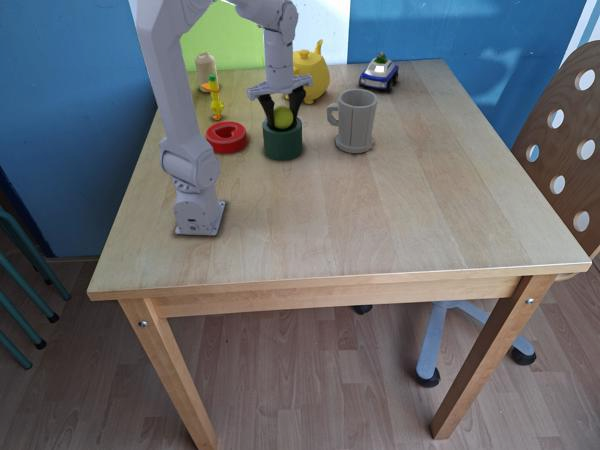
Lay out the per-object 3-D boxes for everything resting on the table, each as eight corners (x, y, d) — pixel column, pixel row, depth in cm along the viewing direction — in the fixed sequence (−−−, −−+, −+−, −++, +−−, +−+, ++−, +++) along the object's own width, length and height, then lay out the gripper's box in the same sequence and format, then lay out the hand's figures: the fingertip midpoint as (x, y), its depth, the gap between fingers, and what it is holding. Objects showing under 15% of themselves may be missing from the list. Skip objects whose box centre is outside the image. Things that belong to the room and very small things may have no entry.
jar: (301, 161, 97) (300, 134, 93) (262, 160, 98) (259, 133, 93) (303, 139, 104) (303, 114, 99) (266, 138, 104) (264, 113, 99)
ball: (297, 129, 96) (296, 109, 92) (276, 135, 94) (275, 115, 91) (287, 119, 99) (287, 99, 96) (268, 124, 97) (266, 104, 94)
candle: (196, 91, 123) (190, 57, 116) (205, 82, 127) (199, 49, 120) (214, 93, 122) (208, 59, 115) (222, 85, 125) (217, 51, 119)
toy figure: (202, 117, 112) (194, 73, 104) (211, 111, 114) (204, 68, 106) (222, 124, 110) (215, 79, 101) (231, 118, 112) (224, 74, 103)
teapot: (341, 83, 125) (343, 41, 116) (311, 114, 112) (311, 69, 104) (300, 75, 130) (300, 33, 121) (267, 104, 117) (264, 59, 108)
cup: (336, 158, 98) (338, 111, 90) (324, 137, 104) (325, 92, 96) (378, 150, 100) (384, 104, 92) (363, 131, 106) (368, 85, 98)
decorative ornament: (207, 134, 106) (204, 123, 104) (245, 129, 107) (243, 118, 105) (208, 155, 99) (206, 144, 97) (249, 150, 101) (247, 139, 98)
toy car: (355, 90, 122) (358, 57, 115) (370, 73, 130) (373, 42, 123) (386, 96, 119) (391, 63, 112) (399, 79, 127) (404, 47, 120)
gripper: (253, 77, 81) (258, 138, 91) (319, 62, 86) (318, 122, 95) (240, 63, 86) (247, 123, 95) (304, 50, 90) (304, 108, 100)
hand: (282, 121), depth 96 cm, fingers closed on ball, 5 cm apart
